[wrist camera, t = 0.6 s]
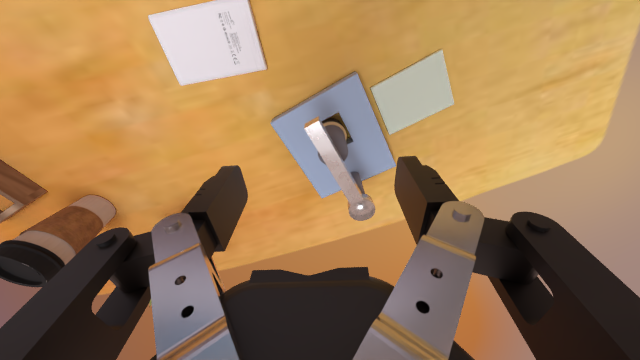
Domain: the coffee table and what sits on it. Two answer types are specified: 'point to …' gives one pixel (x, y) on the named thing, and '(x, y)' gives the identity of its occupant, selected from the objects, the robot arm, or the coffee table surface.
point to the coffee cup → (53, 242)
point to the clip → (340, 171)
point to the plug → (336, 137)
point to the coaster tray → (17, 190)
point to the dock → (363, 145)
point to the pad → (414, 93)
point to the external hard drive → (210, 40)
